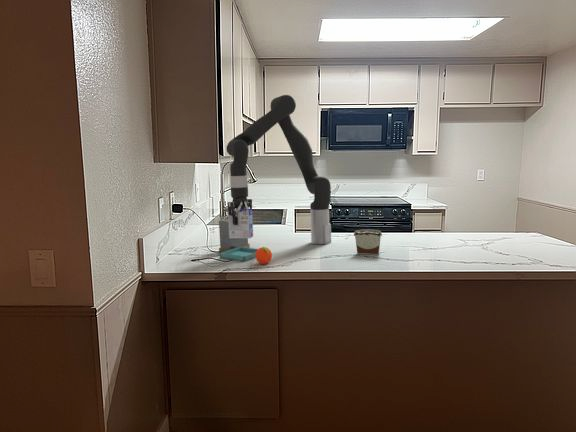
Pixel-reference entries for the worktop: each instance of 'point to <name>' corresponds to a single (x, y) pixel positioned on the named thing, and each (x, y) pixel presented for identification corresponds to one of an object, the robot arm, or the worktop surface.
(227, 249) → the printer unit
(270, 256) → the clementine
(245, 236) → the ink cartridge box
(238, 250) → the tray
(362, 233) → the food container
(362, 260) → the worktop surface
